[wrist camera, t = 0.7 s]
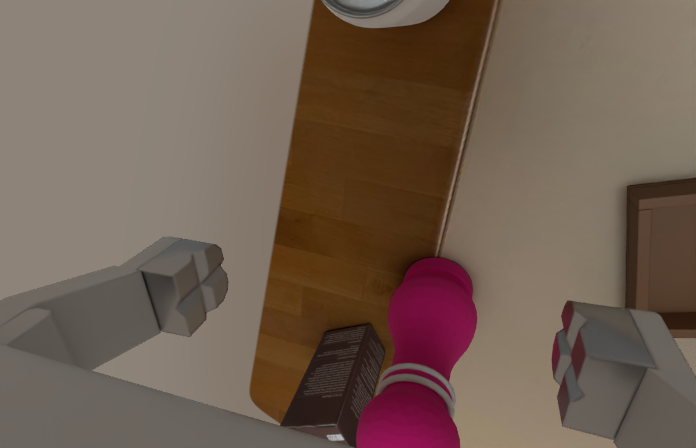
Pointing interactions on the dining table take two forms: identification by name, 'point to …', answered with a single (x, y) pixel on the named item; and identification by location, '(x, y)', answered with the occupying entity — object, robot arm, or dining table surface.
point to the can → (385, 11)
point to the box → (337, 385)
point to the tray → (663, 253)
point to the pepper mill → (422, 359)
